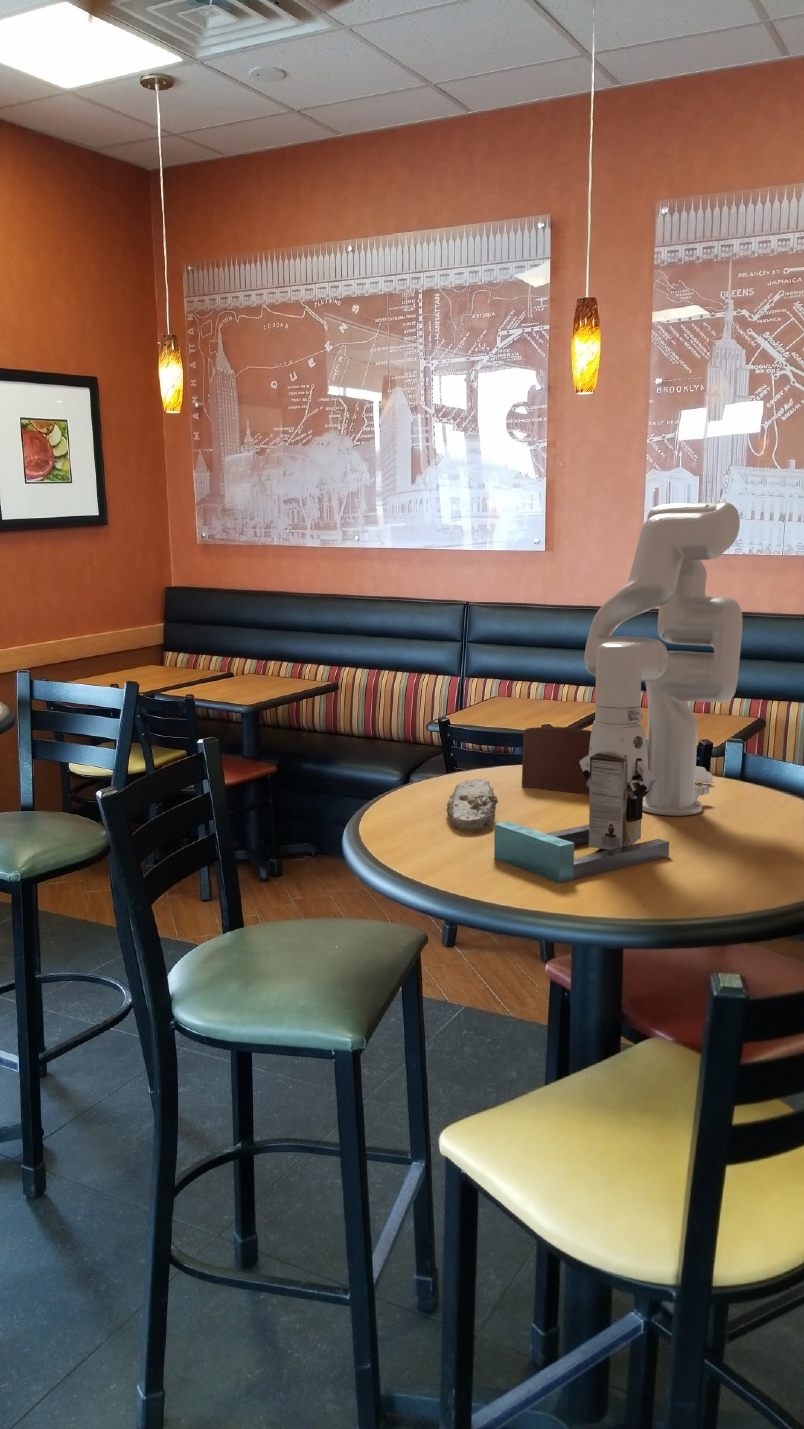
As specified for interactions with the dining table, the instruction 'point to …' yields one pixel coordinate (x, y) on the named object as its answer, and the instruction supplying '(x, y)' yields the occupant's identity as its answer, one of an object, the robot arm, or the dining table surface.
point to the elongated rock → (472, 805)
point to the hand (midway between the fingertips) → (615, 814)
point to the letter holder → (555, 759)
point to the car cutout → (702, 775)
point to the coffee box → (610, 804)
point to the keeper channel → (566, 852)
